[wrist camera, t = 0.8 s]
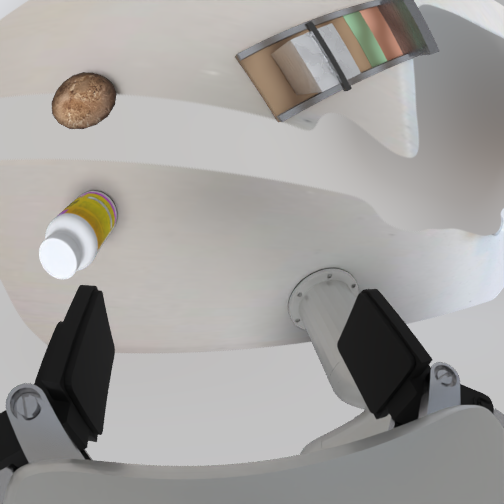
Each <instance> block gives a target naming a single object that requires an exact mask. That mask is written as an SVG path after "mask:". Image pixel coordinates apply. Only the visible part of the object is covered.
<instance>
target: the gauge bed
mask: <svg viewBox="0 0 504 504" xmlns="http://www.w3.org/2000/svg"><path fill="white" fill-rule="evenodd" d="M381 1H383V0H375V1H371V2H367V3H363V4H360V5H356V6H353V7H349V8H346V9H343V10H339V11H336V12H333V13H330V14H327V15H324V16H322V17H319V18H316V19H313V20H311V21H312V22H313V24H314V25H315V27H316V28H317V29H318V28H320V27H323V26H326V25H328V24H331V23H332V24H333V26H334V27H335V29H336V30H337V32H338V33H339V35H340V37H341V38H342V40H343V42H344V43H345V45H346V47H347V49H348V50H349V52H350V54H351V56H352V57H353V59H354V61H355V63H356V65H357V66H358V68H359V70H360V72H361V74H359V75H357V76H354V77H352V78H350V79H348V80H347V81H348V82H349V84H350V86H351V85H353V84H355V83H357V82H359V81H361V80H363V79H365V78H368V77H370V76H372V75H374V74H376V73H378V72H381V71H383V70H385V69H388V68H390V67H392V66H395V65H397V64H399V63H402V62H404V61H407V60H409V59H411V58H414V57H417V56H409V55H408V54H404V55H403V53H402V51H401V49H400V47H399V45H398V43H397V41H396V39H395V37H394V35H393V33H392V32H391V30H390V28H389V26H388V24H387V23H386V21H385V19H384V17H383V16H382V14H381V12H380V11H379V9H378V8H377V6H378V5H381V4H380V2H381ZM308 22H310V21H308ZM308 22H306V23H308ZM306 23H303V24H300V25H298V26H296V27H293V28H291V29H288V30H286V31H284V32H281V33H279V34H277V35H275V36H273V37H270V38H268V39H266V40H264V41H262V42H260V43H258V44H256V45H254V46H252V47H250V48H248V49H246V50H244V51H242V52H240V53H238V54H237V55H236V56H235V57H236V59H237V60H238V62H239V63H240V65H241V66H242V67H243V69H244V70H245V72H246V73H247V75H248V76H249V78H250V79H251V81H252V82H253V84H254V85H255V87H256V88H257V90H258V91H259V93H260V94H261V96H262V97H263V99H264V100H265V102H266V104H267V105H268V107H269V108H270V110H271V112H272V113H273V115H274V116H275V118H276V120H277V121H278V122H283V121H285V120H287V119H288V118H290V117H292V116H294V115H295V114H297V113H299V112H301V111H303V110H304V109H306V108H308V107H310V106H312V105H314V104H316V103H317V102H319V101H321V100H323V99H325V98H327V97H329V96H331V95H333V94H335V93H337V92H339V91H341V90H343V88H342V86H341V84H338V85H336V86H334V87H332V88H330V89H328V90H326V91H324V92H319V93H310V94H301V95H296V93H295V91H294V90H293V88H292V87H291V85H290V83H289V82H288V80H287V78H286V77H285V75H284V74H283V72H282V71H281V69H280V68H279V66H278V64H277V63H276V61H275V60H274V58H273V57H272V55H271V54H272V53H274V52H275V51H276V50H277V49H279V48H280V47H281V46H283V45H284V44H285V43H287V42H288V41H290V40H291V39H294V38H296V37H298V36H301V35H303V34H305V33H308V32H309V31H308V29H307V28H306V26H305V25H304V24H306ZM418 56H419V55H418Z"/></svg>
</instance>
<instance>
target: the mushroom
mask: <svg viewBox="0 0 504 504" xmlns="http://www.w3.org/2000/svg"><path fill="white" fill-rule="evenodd" d="M115 100H116V91H115V89H114V86H113V84H112V83H111V82H110V81H109V80H107V79H106V78H105V77H103V76H101V75H98V74H95V73H85V72H83V73H80V74H77V75H74V76H72V77H70V78H69V79H67V80H66V81H65V82H63V83H62V85H61V86H60V87H59V88H58V90H57V91H56V93H55V96H54V98H53V101H52V114H53V115H54V117H55V119H56V120H57V121H58V123H60V124H61V125H63V126H65V127H67V128H69V129H84V128H87V127H90V126H93V125H96V124H98V123H99V122H100V121H102V120H103V119H105V118H106V117H107V116H108V115H109V113H110V112H111V110H112V109H113V107H114V105H115Z"/></svg>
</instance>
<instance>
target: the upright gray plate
mask: <svg viewBox="0 0 504 504" xmlns="http://www.w3.org/2000/svg"><path fill="white" fill-rule="evenodd" d="M380 4H381V5H378V6H377V8H378V9H379V11H380V12H381V14H382V16H383V17H384V19H385V21H386V23H387V24H388V26H389V28H390V30H391V32H392V33H393V35H394V37H395V39H396V41H397V43H398V45H399V47H400V49H401V51H402V53H403V55H404V54H408V55H409V56H418V55H430V54H433V53H436V52H439V49H438V47H437V44H436V42H435V40H434V38H433V36H432V34H431V32H430V30H429V28H428V26H427V24H426V22H425V20H424V18H423V16H422V14H421V12H420V11H419V9H418V7H417V5H416V4H415V2H414V0H383V1H381V2H380Z"/></svg>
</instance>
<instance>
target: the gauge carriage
mask: <svg viewBox="0 0 504 504" xmlns="http://www.w3.org/2000/svg"><path fill="white" fill-rule="evenodd" d="M304 25H305V26H306V28H307V29H308V31H309V32H308V33H305V34H303V35H301V36H298V37H296V38H294V39H291V40H290V41H288V42H287V43H285V44H284V45H283V46H281V47H280V48H279V49H277V50H276V51H275V52H274V53H272V54H271V55H272V57H273V58H274V60H275V61H276V63H277V64H278V66H279V68H280V69H281V71H282V72H283V74H284V75H285V77H286V78H287V80H288V82H289V83H290V85H291V87H292V88H293V90H294V91H295V93H296V95H301V94H310V93H319V92H324V91H326V90H328V89H330V88H332V87H334V86H336V85H338V84H341V86H342V88H343V90H344V91H348V90H350V89H352V88H351V86H350V84H349V82H348V81H347V80H348V79H350V78H352V77H354V76H357V75H359V74H361V72H360V70H359V68H358V66H357V65H356V63H355V61H354V59H353V57H352V56H351V54H350V52H349V50H348V49H347V47H346V45H345V43H344V42H343V40H342V38H341V37H340V35H339V33H338V32H337V30H336V29H335V27H334V26H333V24H332V23H331V24H328V25H326V26H323V27H320V28H318V29H317V28H316V27H315V25H314V24H313V22H312V21H310V22H308V23H306V24H304Z"/></svg>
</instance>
